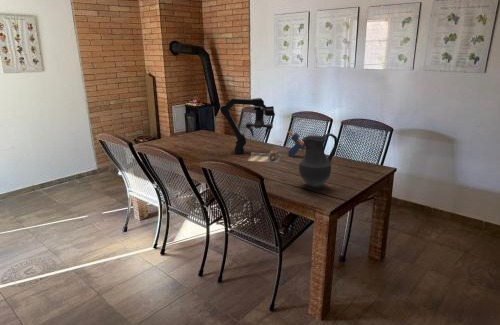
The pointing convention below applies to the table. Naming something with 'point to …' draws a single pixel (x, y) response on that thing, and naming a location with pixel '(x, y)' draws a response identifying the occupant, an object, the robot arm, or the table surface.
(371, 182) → the table surface
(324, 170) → the pitcher
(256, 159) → the board
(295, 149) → the glue gun
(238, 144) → the robot arm
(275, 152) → the brown block with peg
